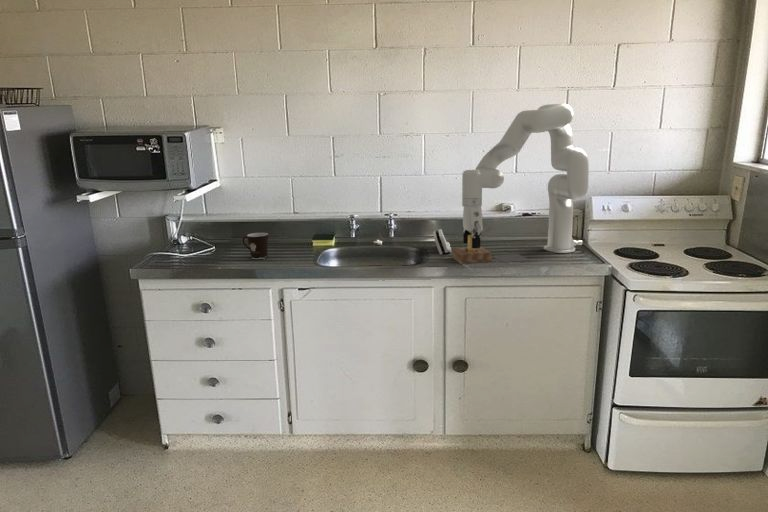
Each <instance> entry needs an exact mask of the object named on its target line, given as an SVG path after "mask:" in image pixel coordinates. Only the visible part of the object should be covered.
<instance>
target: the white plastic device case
mask: <svg viewBox="0 0 768 512" xmlns="http://www.w3.org/2000/svg"><path fill="white" fill-rule="evenodd" d="M432 236H433V240H434V242H435V246H436V249H437V250H438V253H439V255H440V256H441V255H443V254H447V253H450V254H452V247H450V246H451V244H450V242H449V241H447V240H446V238H445V235H444V232H443V229H442V228H440V229H438V230H434V231H432Z"/></svg>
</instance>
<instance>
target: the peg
mask: <svg viewBox="0 0 768 512" xmlns="http://www.w3.org/2000/svg"><path fill="white" fill-rule="evenodd" d="M472 238H473V236H472V234H471V235H468V243H467V247H468V252H475V248H472Z"/></svg>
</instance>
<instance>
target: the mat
mask: <svg viewBox="0 0 768 512" xmlns="http://www.w3.org/2000/svg"><path fill="white" fill-rule="evenodd" d="M492 257H493V258H495V259H496V260H498V261H500V262H502V263H509V262H520V261H521V262H523V261H529V259H528V258H526V257H524V256H523V255H520V254H518V253H514V254H513V253H512V254H509V253H508V254H497V255H495V254H494V255H492Z"/></svg>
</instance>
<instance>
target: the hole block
mask: <svg viewBox="0 0 768 512" xmlns="http://www.w3.org/2000/svg"><path fill="white" fill-rule="evenodd" d="M492 254H493V253H492V252H491V251H489V250H488V249H486V248H484V247H483V246H481V245H480V248H475V252H468V246H466V247H463V246H462V247H454V248H453V247H451V259H453V260H454V261H456V262H457V263H458V262H459V264H460V265H461V264H462V266H464V265H463V264H473V263H485V262H486V263H487V262H492V259H493V258H492V257H493V255H492Z"/></svg>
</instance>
